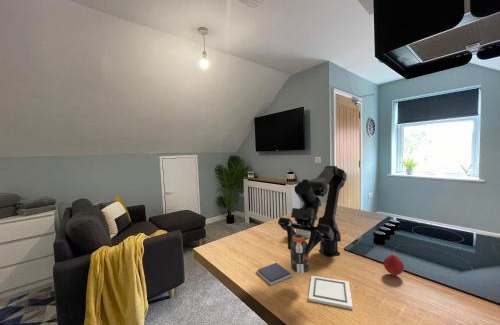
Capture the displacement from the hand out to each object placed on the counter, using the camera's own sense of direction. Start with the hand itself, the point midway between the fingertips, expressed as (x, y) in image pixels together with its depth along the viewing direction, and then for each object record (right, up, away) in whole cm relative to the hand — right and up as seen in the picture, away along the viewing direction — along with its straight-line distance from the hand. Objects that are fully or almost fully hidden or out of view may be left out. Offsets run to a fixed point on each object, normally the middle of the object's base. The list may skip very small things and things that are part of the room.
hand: (297, 251), depth 68 cm
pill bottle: (+1, -7, +2) cm, 7 cm away
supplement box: (+14, -10, +44) cm, 48 cm away
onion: (+35, -11, +5) cm, 37 cm away
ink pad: (-7, -12, +9) cm, 17 cm away
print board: (+10, -12, -2) cm, 16 cm away
